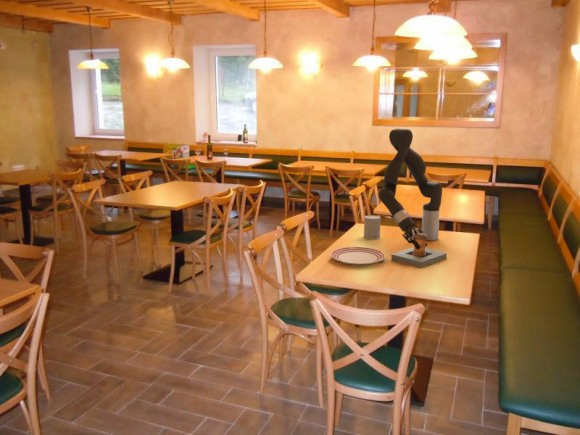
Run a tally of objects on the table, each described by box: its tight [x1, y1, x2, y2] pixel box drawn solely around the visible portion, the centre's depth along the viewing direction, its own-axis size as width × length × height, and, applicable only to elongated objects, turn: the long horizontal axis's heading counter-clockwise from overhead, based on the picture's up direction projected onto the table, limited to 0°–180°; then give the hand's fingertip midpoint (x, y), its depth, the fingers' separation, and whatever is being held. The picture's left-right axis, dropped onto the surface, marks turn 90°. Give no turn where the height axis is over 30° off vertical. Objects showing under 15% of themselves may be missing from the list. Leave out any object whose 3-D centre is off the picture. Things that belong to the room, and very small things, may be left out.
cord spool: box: [412, 233, 427, 258], centre depth 264 cm, size 7×7×11 cm
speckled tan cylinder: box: [363, 214, 382, 240], centre depth 307 cm, size 10×10×12 cm
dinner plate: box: [330, 246, 386, 266], centre depth 266 cm, size 28×27×3 cm
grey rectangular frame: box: [391, 246, 448, 269], centre depth 266 cm, size 22×18×3 cm
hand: (422, 247), depth 263 cm, fingers closed on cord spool, 5 cm apart
